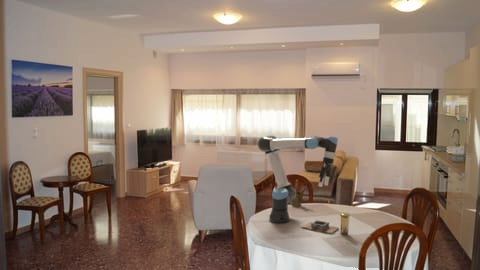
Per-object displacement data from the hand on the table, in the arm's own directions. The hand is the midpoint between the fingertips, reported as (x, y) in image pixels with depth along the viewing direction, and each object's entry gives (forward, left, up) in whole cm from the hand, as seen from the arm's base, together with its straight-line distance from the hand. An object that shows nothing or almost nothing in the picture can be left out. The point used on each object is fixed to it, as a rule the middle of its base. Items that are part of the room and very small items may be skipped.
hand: (323, 185), depth 287 cm
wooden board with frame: (+4, -13, -28) cm, 31 cm away
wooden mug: (-36, +37, -28) cm, 59 cm away
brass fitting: (+22, -15, -28) cm, 38 cm away
